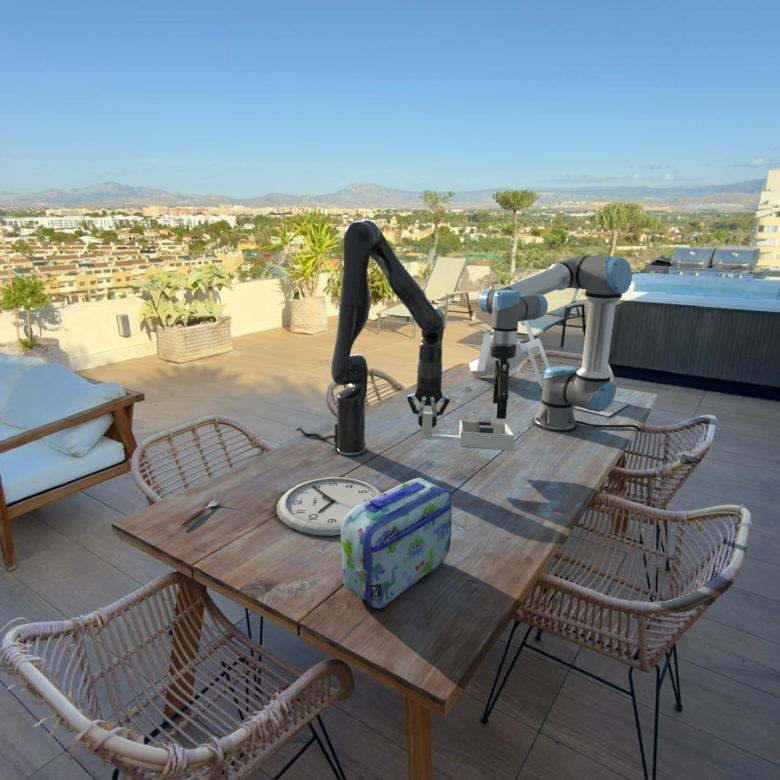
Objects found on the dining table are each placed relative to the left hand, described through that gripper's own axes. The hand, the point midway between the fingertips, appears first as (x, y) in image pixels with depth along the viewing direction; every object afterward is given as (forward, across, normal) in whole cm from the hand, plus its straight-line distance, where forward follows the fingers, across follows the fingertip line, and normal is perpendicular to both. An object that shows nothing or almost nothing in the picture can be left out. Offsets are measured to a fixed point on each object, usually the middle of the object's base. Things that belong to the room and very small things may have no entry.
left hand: (427, 426), depth 165 cm
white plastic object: (+13, -35, -98) cm, 105 cm away
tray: (+4, -12, +1) cm, 13 cm away
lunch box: (+13, +3, +59) cm, 61 cm away
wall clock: (+13, +24, +30) cm, 40 cm away
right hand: (-6, -22, -1) cm, 23 cm away
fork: (+13, +57, +39) cm, 70 cm away
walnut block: (+4, -18, -5) cm, 19 cm away
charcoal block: (+2, -18, +6) cm, 19 cm away
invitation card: (+13, -72, -69) cm, 101 cm away
